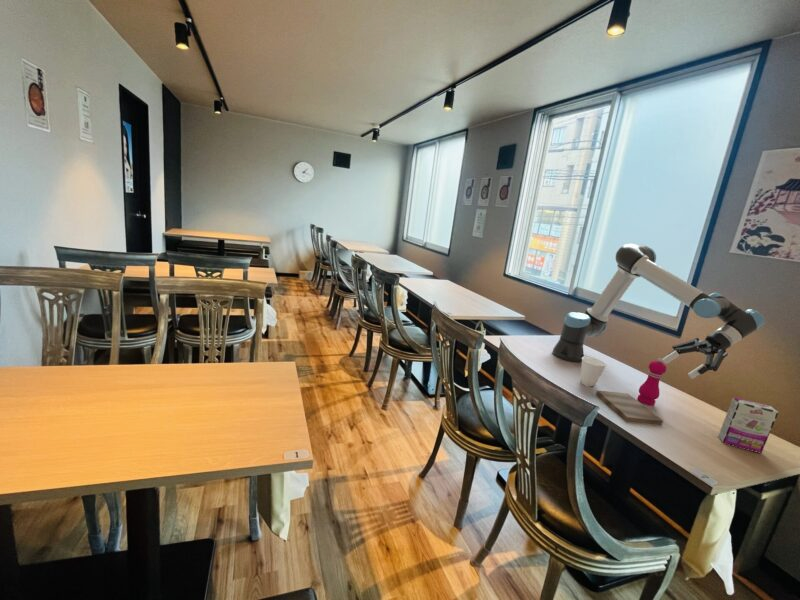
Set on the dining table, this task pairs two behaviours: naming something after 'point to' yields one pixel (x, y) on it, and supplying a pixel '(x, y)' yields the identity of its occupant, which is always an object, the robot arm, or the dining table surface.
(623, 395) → the serving board
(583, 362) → the cup
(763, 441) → the candy bar box
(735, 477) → the dining table surface
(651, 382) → the pepper mill
